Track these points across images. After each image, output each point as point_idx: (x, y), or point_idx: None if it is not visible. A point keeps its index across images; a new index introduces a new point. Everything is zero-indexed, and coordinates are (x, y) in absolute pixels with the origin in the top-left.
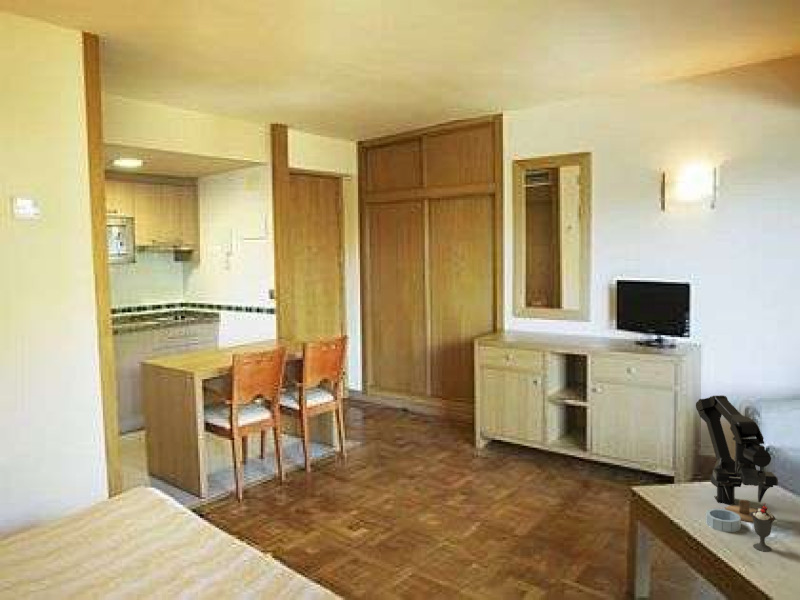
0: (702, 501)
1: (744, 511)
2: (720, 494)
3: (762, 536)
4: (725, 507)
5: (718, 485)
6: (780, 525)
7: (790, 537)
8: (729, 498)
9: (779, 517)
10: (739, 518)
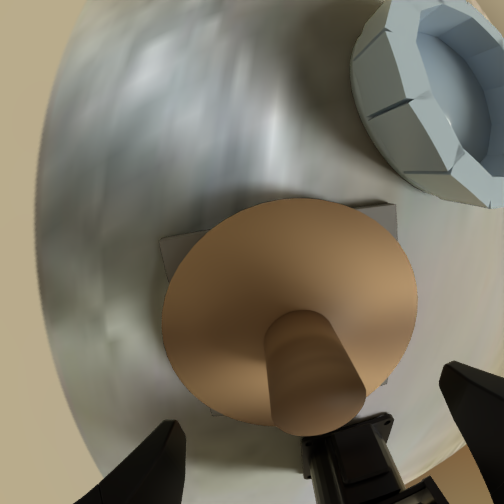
0: (438, 403)
1: (309, 321)
2: (390, 459)
3: None
4: (381, 385)
5: (433, 485)
6: (83, 253)
7: (60, 90)
8: (462, 365)
9: (100, 366)
10: (393, 23)
